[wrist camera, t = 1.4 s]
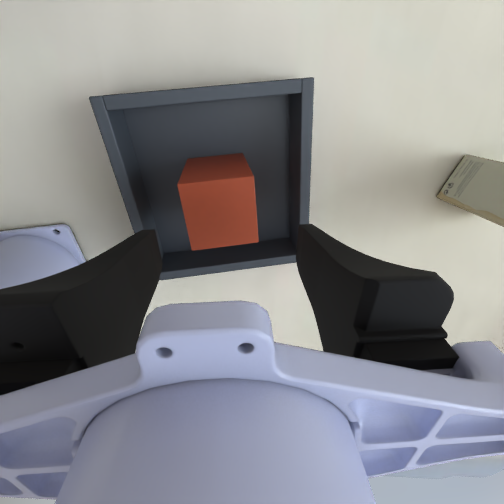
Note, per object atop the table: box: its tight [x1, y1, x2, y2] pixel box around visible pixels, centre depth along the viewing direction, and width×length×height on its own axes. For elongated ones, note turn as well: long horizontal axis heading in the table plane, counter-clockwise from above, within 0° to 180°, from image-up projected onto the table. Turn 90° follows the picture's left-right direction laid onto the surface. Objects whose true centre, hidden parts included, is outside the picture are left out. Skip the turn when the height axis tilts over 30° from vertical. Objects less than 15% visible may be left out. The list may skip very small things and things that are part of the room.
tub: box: [89, 77, 314, 280], centre depth 21 cm, size 14×14×4 cm
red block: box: [177, 153, 259, 251], centre depth 19 cm, size 4×4×7 cm
